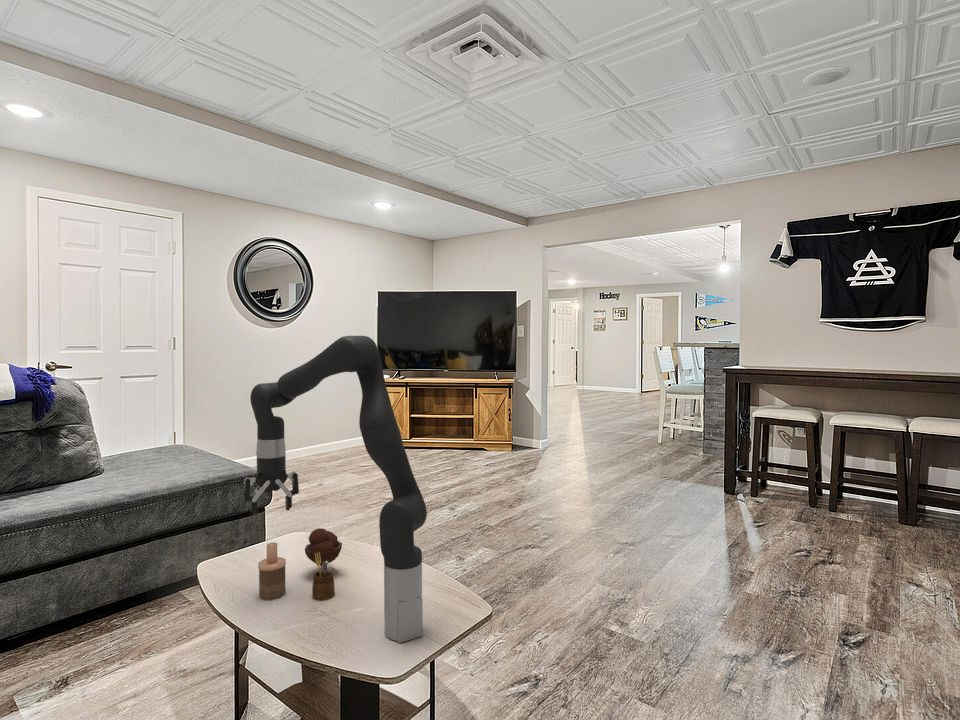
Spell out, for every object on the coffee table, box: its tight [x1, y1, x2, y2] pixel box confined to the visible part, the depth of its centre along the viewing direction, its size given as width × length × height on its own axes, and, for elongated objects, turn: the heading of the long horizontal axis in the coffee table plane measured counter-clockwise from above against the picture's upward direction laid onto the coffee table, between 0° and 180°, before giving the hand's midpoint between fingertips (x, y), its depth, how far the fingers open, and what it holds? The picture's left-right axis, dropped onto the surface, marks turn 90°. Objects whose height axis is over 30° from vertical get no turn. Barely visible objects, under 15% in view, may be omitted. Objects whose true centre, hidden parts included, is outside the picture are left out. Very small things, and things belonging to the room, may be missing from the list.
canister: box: [258, 565, 286, 601], centre depth 150 cm, size 6×6×9 cm
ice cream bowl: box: [304, 527, 343, 571], centre depth 163 cm, size 11×11×15 cm
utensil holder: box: [311, 552, 336, 602], centre depth 149 cm, size 6×6×12 cm
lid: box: [257, 542, 287, 571], centre depth 150 cm, size 7×7×6 cm
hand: (271, 512), depth 149 cm, fingers open, 8 cm apart
